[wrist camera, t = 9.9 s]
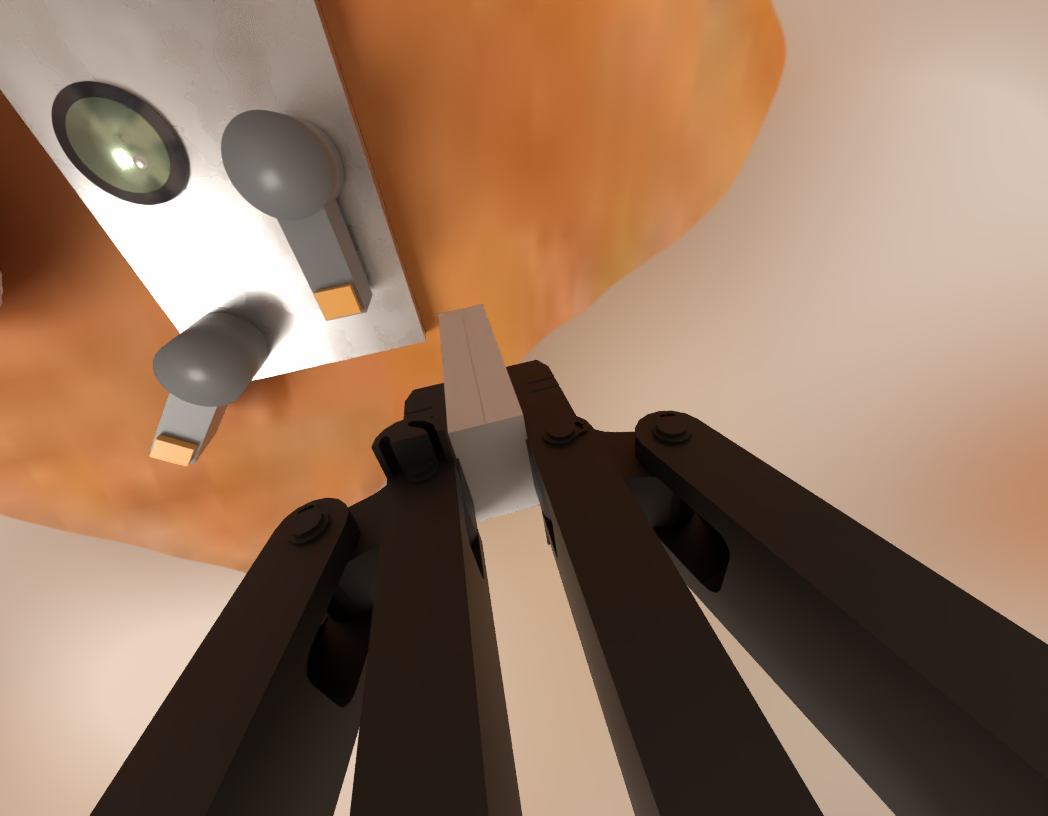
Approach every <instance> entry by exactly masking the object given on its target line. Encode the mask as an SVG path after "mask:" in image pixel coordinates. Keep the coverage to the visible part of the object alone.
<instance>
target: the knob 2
mask: <svg viewBox="0 0 1048 816" xmlns="http://www.w3.org/2000/svg"><path fill="white" fill-rule="evenodd" d="M221 156H222V161H223V165H224V168H225V171H226V173H227V175H228V177H229V179H230V181H231V182H232V184H233V186H234V187H235V188H236V190H237V191H238V192H239V193H240V195H241V196H242V197H243V198H244V199H245V200H246V201H247V202H248V203H250V204H251V205H252V206H253V207H255V208H256V209H258V210H259V211H261V212H263V213H265V214H267V215H269V216H271V217H274V218H277V220H278V222H279V224H280V226H281V228H282V230H283V233H284V235H285V237H286V239H287V241H288V243H289V245H290V247H291V249H292V251H293V253H294V255H295V257H296V259H297V262H298V264H299V266H300V268H301V270H302V272H303V274H304V276H305V278H306V280H307V282H308V284H309V286H310V289H311V291H312V293H313V295H314V297H315V299H316V301H317V303H318V305H319V307H320V309H321V311H322V313H323V315H324V318H325V320H326V321H329V320H334V319H338V318H343V317H347V316H352V315H357V314H361V313H366V312H367V310H368V307H369V304H370V301H371V298H372V295H373V294H372V291H371V289H370V286H369V284H368V281H367V278H366V276H365V273H364V271H363V268H362V266H361V263H360V260H359V258H358V255H357V253H356V250H355V247H354V245H353V242H352V240H351V237H350V235H349V232H348V229H347V227H346V224H345V222H344V219H343V217H342V214H341V211H340V209H339V206H338V204H337V201H336V198H337V197H338V196H339V194H340V192H341V190H342V187H343V182H344V169H343V163H342V160H341V157H340V155H339V152H338V150H337V149H336V147H335V145H334V144H333V142H332V141H331V139H330V138H329V137H328V136H327V135H326V134H325V133H324V132H323V131H322V130H321V129H320V128H318V127H317V126H316V125H314V124H313V123H311V122H309V121H307V120H305V119H302V118H299V117H295V116H290V115H286V114H281V113H277V112H272V111H267V110H249V111H246V112H243V113H241V114H238V115H237V116H236V117H234V118H233V119H232V120H231V121H230V122H229V123H228V125H227V126H226V128H225V130H224V133H223V136H222V140H221Z"/></svg>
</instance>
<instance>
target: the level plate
mask: <svg viewBox="0 0 1048 816" xmlns="http://www.w3.org/2000/svg"><path fill="white" fill-rule="evenodd" d="M0 90H1V91H2V92H3V94H4V95H5V96H6V98H7V99H8V100H9V102H10V103H11V104H12V106H13V107H14V108H15V110H16V111H17V113H18V114H19V115H20V117H21V118H22V119H23V121H24V122H25V123H26V125H27V126H28V127H29V129H30V130H31V131H32V133H33V134H34V136H35V137H36V138H37V140H38V141H39V142H40V144H41V145H42V146H43V148H44V149H45V150H46V152H47V153H48V154H49V156H50V157H51V159H52V160H53V161H54V163H55V164H56V165H57V167H58V168H59V169H60V171H61V172H62V173H63V175H64V176H65V177H66V179H67V180H68V182H69V183H70V184H71V186H72V187H73V188H74V190H75V191H76V192H77V194H78V195H79V196H80V198H81V199H82V200H83V202H84V203H85V205H86V206H87V207H88V209H89V210H90V211H91V213H92V214H93V215H94V217H95V218H96V219H97V221H98V222H99V223H100V225H101V226H102V228H103V229H104V230H105V232H106V233H107V234H108V236H109V237H110V238H111V240H112V241H113V242H114V244H115V245H116V246H117V248H118V249H119V250H120V252H121V253H122V255H123V256H124V257H125V259H126V260H127V261H128V263H129V264H130V265H131V267H132V268H133V269H134V271H135V272H136V273H137V275H138V276H139V278H140V279H141V280H142V282H143V283H144V284H145V286H146V287H147V288H148V290H149V291H150V292H151V294H152V295H153V296H154V298H155V299H156V301H157V302H158V303H159V305H160V306H161V307H162V309H163V310H164V311H165V313H166V314H167V315H168V317H169V318H170V319H171V321H172V322H173V324H174V325H175V326H176V328H177V329H178V330H179V332H180V333H181V332H183V331H184V330H185V329H187V328H188V327H189V326H190V325H192V324H193V323H194V322H195V321H197V320H198V319H199V318H201V317H203V316H205V315H208V314H212V313H227V314H232V315H235V316H238V317H241V318H243V319H245V320H247V321H248V322H250V323H251V324H253V325H254V326H255V327H256V328H257V329H258V330H259V331H260V332H261V333H262V334H263V336H264V337H265V339H266V342H267V344H268V357H267V359H266V361H265V363H264V364H263V365H262V367H261V368H260V370H259V371H258V372H257V374H256V375H255V377H254V378H253V379H252V381H253V380H257V379H262V378H266V377H271V376H275V375H279V374H284V373H288V372H293V371H297V370H301V369H306V368H310V367H315V366H319V365H323V364H328V363H332V362H337V361H341V360H345V359H350V358H354V357H359V356H363V355H367V354H372V353H376V352H381V351H385V350H389V349H394V348H398V347H403V346H407V345H411V344H416V343H420V342H425V341H426V332H425V329H424V326H423V323H422V320H421V317H420V314H419V311H418V308H417V304H416V301H415V298H414V295H413V292H412V289H411V286H410V283H409V280H408V277H407V274H406V270H405V267H404V264H403V261H402V258H401V255H400V252H399V249H398V246H397V243H396V240H395V236H394V233H393V230H392V227H391V224H390V221H389V218H388V215H387V212H386V209H385V206H384V203H383V199H382V196H381V193H380V190H379V187H378V184H377V181H376V178H375V175H374V172H373V169H372V165H371V162H370V159H369V156H368V153H367V150H366V147H365V144H364V141H363V138H362V135H361V131H360V128H359V125H358V122H357V119H356V116H355V113H354V110H353V107H352V104H351V101H350V98H349V94H348V91H347V88H346V85H345V82H344V79H343V76H342V73H341V70H340V67H339V64H338V60H337V57H336V54H335V51H334V48H333V45H332V42H331V39H330V36H329V33H328V30H327V26H326V23H325V20H324V17H323V14H322V11H321V8H320V5H319V2H318V0H0ZM249 110H267V111H272V112H277V113H281V114H286V115H290V116H295V117H299V118H302V119H305V120H307V121H309V122H311V123H313V124H314V125H316V126H317V127H318V128H320V129H321V130H322V131H323V132H324V133H325V134H326V135H327V136H328V137H329V138H330V139H331V141H332V142H333V144H334V145H335V147H336V149H337V150H338V152H339V155H340V157H341V160H342V163H343V169H344V182H343V187H342V190H341V192H340V194H339V196H338V197H337V198H336V201H337V204H338V206H339V209H340V211H341V214H342V217H343V219H344V222H345V224H346V227H347V229H348V232H349V235H350V237H351V240H352V242H353V245H354V247H355V250H356V253H357V255H358V258H359V260H360V263H361V266H362V268H363V271H364V273H365V276H366V278H367V281H368V284H369V286H370V289H371V291H372V294H373V295H372V298H371V301H370V304H369V307H368V310H367V312H366V313H361V314H357V315H352V316H347V317H343V318H338V319H334V320H329V321H326V320H325V318H324V315H323V313H322V311H321V309H320V307H319V305H318V303H317V301H316V299H315V297H314V295H313V293H312V291H311V289H310V286H309V284H308V282H307V280H306V278H305V276H304V274H303V272H302V270H301V268H300V266H299V264H298V262H297V259H296V257H295V255H294V253H293V251H292V249H291V247H290V245H289V243H288V241H287V239H286V237H285V235H284V233H283V230H282V228H281V226H280V224H279V222H278V220H277V218H274V217H271V216H269V215H267V214H265V213H263V212H261V211H259V210H258V209H256V208H255V207H253V206H252V205H251V204H250V203H248V202H247V201H246V200H245V199H244V198H243V197H242V196H241V195H240V193H239V192H238V191H237V190H236V188H235V187H234V186H233V184H232V182H231V181H230V179H229V177H228V175H227V173H226V171H225V168H224V165H223V161H222V156H221V140H222V136H223V133H224V130H225V128H226V126H227V125H228V123H229V122H230V121H231V120H232V119H233V118H234V117H236V116H237V115H238V114H241V113H243V112H246V111H249Z"/></svg>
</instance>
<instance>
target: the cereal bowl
mask: <svg viewBox="0 0 1048 816" xmlns="http://www.w3.org/2000/svg"><path fill="white" fill-rule="evenodd" d="M2 294H3V287H2V274H1V272H0V307H1V304H2Z"/></svg>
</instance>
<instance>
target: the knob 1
mask: <svg viewBox="0 0 1048 816" xmlns="http://www.w3.org/2000/svg"><path fill="white" fill-rule="evenodd" d="M267 357H268V344H267V342H266V339H265V337H264V336H263V334H262V333H261V332H260V331H259V330H258V329H257V328H256V327H255V326H254V325H253V324H251V323H250V322H248V321H247V320H245V319H243V318H241V317H238V316H235V315H232V314H227V313H212V314H208V315H205V316H203V317H201V318H199V319H198V320H197V321H195V322H194V323H193V324H192V325H190V326H189V327H188V328H187V329H185V330H184V331H183V332H181V333H180V334H179V335H178V336H176V337H175V338H174V339H172V340H171V341H170V342H169V343H167V344H166V345H165V346H163V347H162V348H161V349H160V350H159V351H158V352H157V353H156V355H155V357H154V360H153V369H154V373H155V376H156V377H157V379H158V381H159V382H160V384H161V385H162V386H163V387H164V388H165V389H166V390H167V391H169V392H170V394H169V397H168V400H167V403H166V406H165V408H164V411H163V414H162V417H161V420H160V423H159V426H158V429H157V432H156V435H155V438H154V441H153V444H152V447H151V450H150V453H151V454H150V457H153V458H156V459H160V460H164V461H168V462H172V463H175V464H179V465H183V466H188V465H189V463H190V464H193V465H194V463H195V462H196V460H197V459H198V458H199V456H200V455H201V453H202V452H203V451H204V449H205V448H206V446H207V445H208V444H209V442H210V441H211V439H212V438H213V437H214V435H215V434H216V431H217V429H218V427H219V424H220V422H221V419H222V417H223V415H224V412H225V410H226V407H227V405H228V404H230V403H232V402H234V401H235V400H237V399H238V398H239V397H240V396H241V394H242V393H243V392H244V390H245V389H246V388H247V386H248V385H249V383H250V382H251V381H252V379H253V378H254V377H255V375H256V374H257V372H258V371H259V370H260V368H261V367H262V365H263V364H264V363H265V361H266V359H267Z"/></svg>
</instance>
